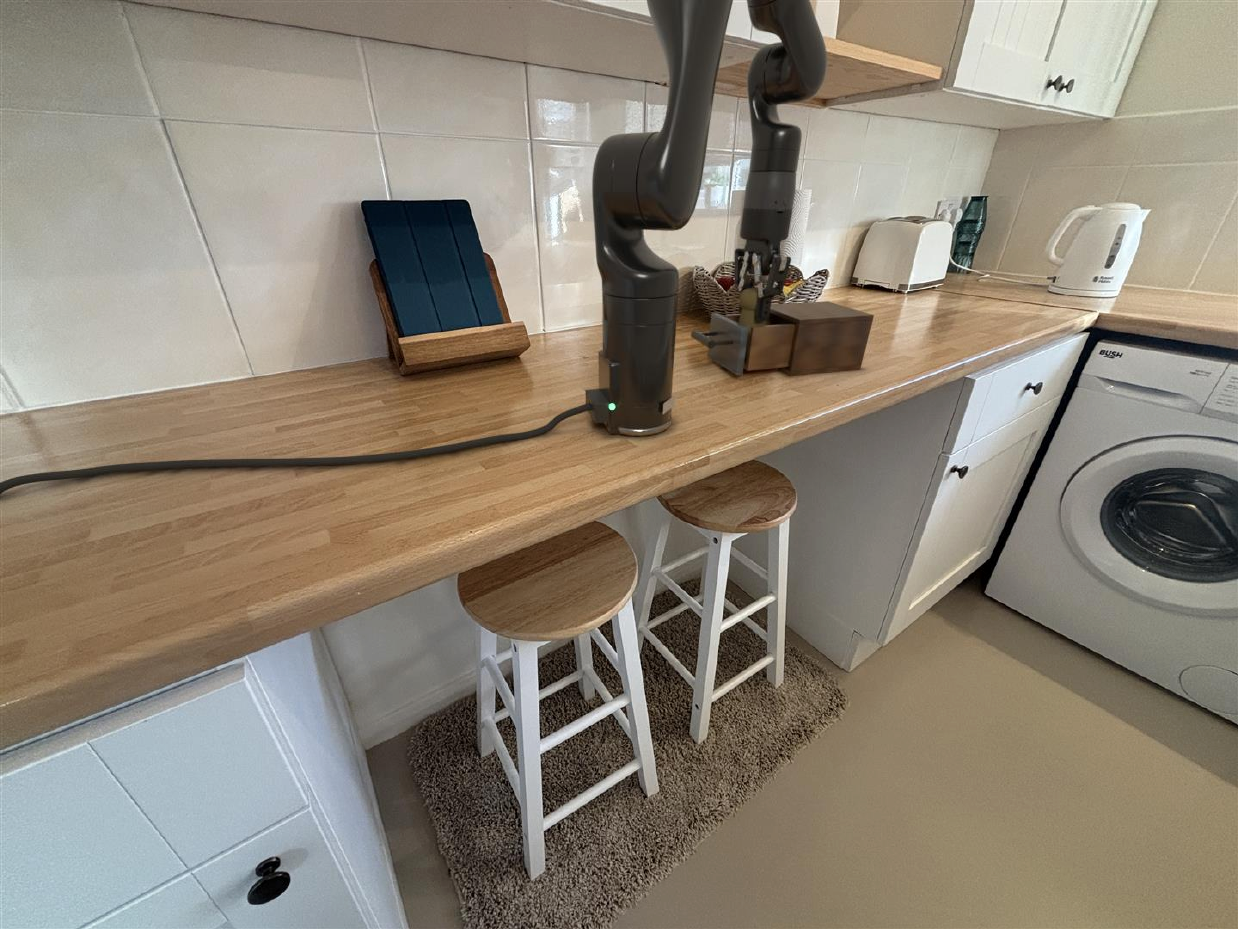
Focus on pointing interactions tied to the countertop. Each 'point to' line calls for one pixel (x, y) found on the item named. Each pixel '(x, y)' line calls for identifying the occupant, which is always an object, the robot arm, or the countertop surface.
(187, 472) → the countertop surface
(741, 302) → the olive chess pawn
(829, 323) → the cabinet
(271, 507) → the countertop surface
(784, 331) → the drawer
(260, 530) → the countertop surface
